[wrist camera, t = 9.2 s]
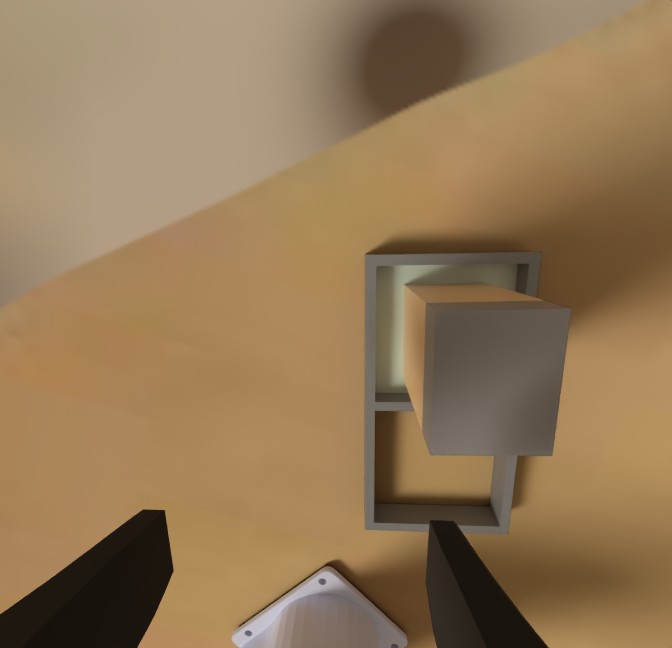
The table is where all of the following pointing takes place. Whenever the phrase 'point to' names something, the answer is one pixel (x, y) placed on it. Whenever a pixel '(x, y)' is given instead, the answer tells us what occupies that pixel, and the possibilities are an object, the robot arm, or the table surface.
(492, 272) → the gray divided rectangular frame
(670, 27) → the table surface
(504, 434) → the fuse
